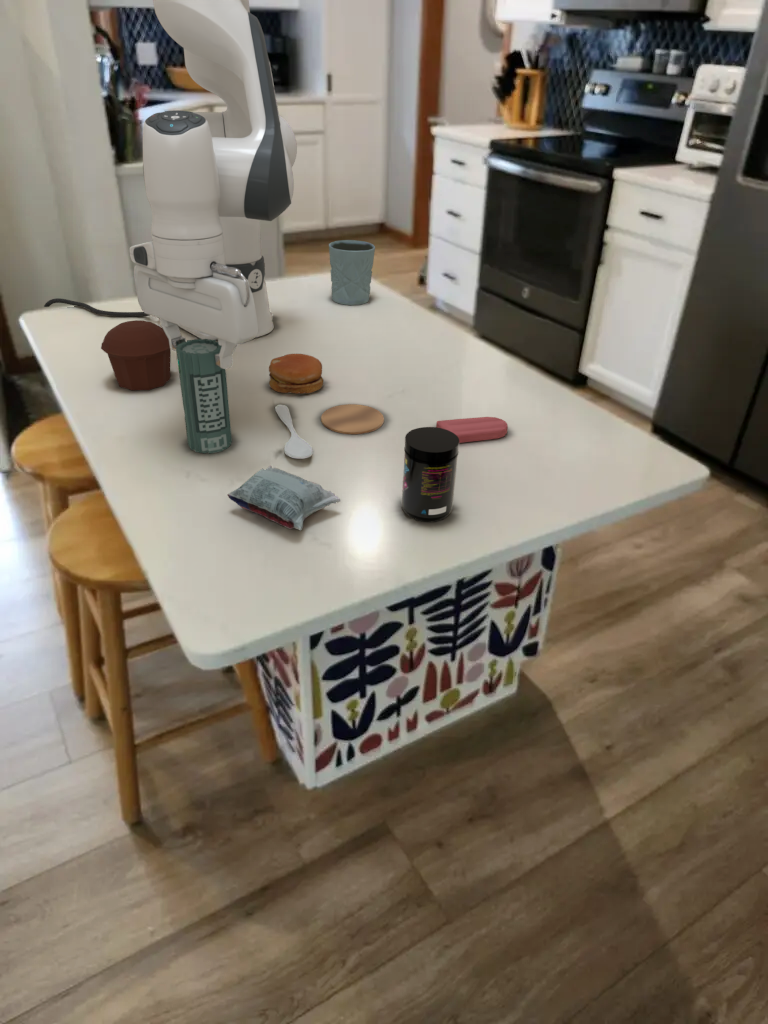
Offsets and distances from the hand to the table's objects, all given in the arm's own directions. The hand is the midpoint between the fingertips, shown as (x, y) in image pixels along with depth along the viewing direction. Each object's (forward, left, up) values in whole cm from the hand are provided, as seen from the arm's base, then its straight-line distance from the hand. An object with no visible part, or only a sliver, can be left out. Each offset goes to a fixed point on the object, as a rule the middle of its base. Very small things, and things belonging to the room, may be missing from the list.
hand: (200, 358), depth 103 cm
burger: (-5, +24, -14) cm, 28 cm away
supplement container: (+35, +6, -14) cm, 38 cm away
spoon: (+7, +10, -14) cm, 18 cm away
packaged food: (+21, -6, -14) cm, 26 cm away
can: (0, 0, -14) cm, 14 cm away
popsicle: (+27, +27, -14) cm, 40 cm away
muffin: (-26, +8, -14) cm, 31 cm away
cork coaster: (+11, +20, -13) cm, 26 cm away
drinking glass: (-29, +68, -14) cm, 75 cm away
